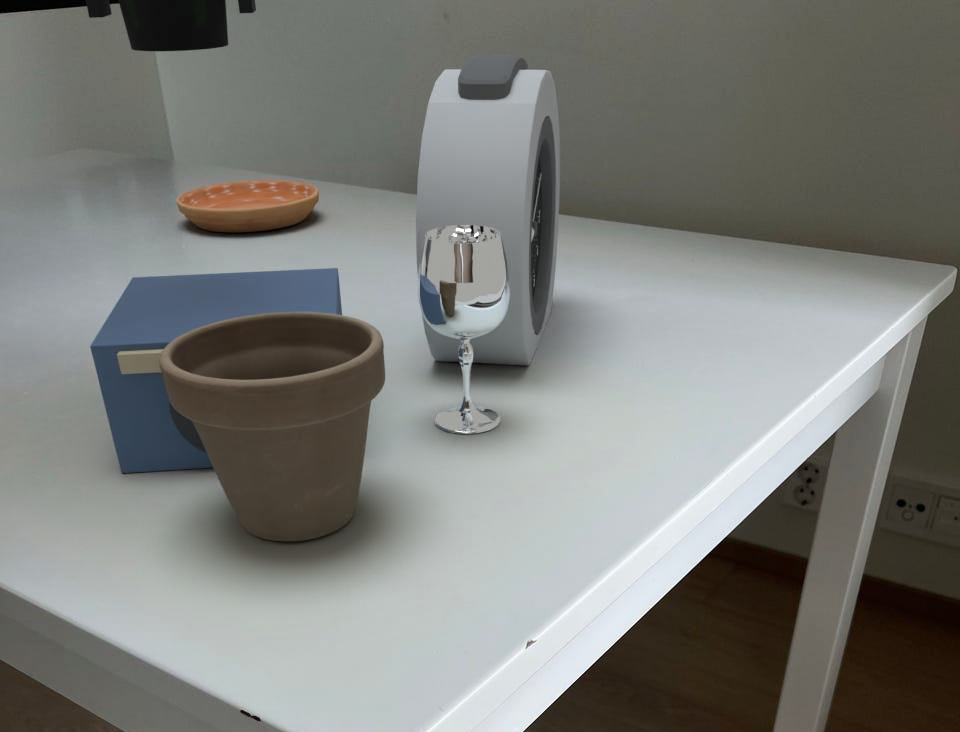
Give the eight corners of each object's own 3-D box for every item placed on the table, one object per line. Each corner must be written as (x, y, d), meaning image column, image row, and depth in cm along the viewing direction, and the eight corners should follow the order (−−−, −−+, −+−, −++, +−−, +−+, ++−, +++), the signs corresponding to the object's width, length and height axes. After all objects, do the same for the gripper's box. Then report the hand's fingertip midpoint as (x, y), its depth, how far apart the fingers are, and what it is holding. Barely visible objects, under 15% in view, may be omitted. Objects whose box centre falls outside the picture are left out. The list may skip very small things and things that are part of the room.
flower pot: (194, 483, 60) (160, 316, 55) (380, 461, 62) (366, 298, 57) (193, 581, 51) (153, 393, 45) (412, 552, 53) (400, 369, 47)
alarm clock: (521, 385, 72) (524, 73, 61) (421, 380, 74) (406, 72, 62) (556, 297, 89) (564, 40, 78) (475, 294, 91) (470, 40, 79)
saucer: (156, 221, 116) (150, 193, 114) (273, 199, 125) (269, 173, 123) (227, 245, 106) (222, 216, 104) (348, 220, 115) (346, 192, 113)
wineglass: (446, 399, 70) (439, 219, 63) (522, 410, 69) (524, 226, 62) (410, 430, 66) (399, 241, 59) (491, 443, 64) (488, 249, 57)
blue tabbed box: (119, 477, 61) (87, 348, 57) (156, 389, 73) (132, 277, 68) (348, 463, 62) (336, 336, 58) (348, 378, 74) (337, 267, 69)
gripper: (-205, -636, 41) (-29, 23, 54) (304, -623, 42) (353, 12, 55) (-134, -561, 47) (8, 14, 60) (308, -553, 48) (352, 5, 62)
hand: (174, 13), depth 58 cm, fingers closed on cup, 8 cm apart
